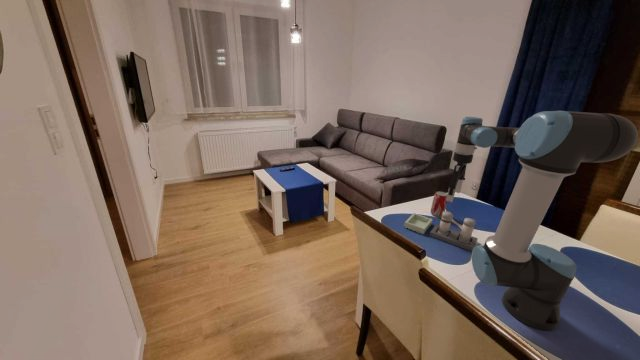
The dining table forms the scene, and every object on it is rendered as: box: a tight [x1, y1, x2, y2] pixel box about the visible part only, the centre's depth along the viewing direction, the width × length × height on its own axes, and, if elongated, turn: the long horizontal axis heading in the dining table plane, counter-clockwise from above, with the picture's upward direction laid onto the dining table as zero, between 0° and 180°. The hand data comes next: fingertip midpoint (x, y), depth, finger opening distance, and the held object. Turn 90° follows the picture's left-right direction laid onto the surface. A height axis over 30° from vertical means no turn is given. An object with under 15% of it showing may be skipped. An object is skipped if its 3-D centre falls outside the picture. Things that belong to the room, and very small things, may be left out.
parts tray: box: [403, 212, 433, 235], centre depth 134 cm, size 13×10×3 cm
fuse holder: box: [429, 217, 478, 252], centre depth 122 cm, size 10×19×12 cm, turn 52°
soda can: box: [430, 190, 448, 218], centre depth 145 cm, size 7×7×13 cm
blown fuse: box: [437, 210, 454, 236], centre depth 125 cm, size 5×5×12 cm
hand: (452, 196), depth 122 cm, fingers open, 13 cm apart
